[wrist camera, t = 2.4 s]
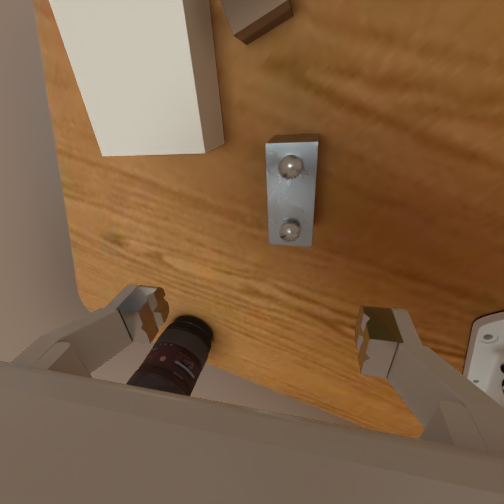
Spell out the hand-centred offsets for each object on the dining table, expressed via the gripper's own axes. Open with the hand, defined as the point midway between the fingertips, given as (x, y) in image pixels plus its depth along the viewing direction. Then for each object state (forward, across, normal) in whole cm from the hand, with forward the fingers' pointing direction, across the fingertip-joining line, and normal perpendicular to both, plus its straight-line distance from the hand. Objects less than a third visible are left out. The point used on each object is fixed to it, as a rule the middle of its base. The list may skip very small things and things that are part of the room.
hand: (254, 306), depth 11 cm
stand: (+18, +12, -10) cm, 24 cm away
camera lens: (+19, +16, +24) cm, 34 cm away
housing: (+18, 0, 0) cm, 19 cm away
